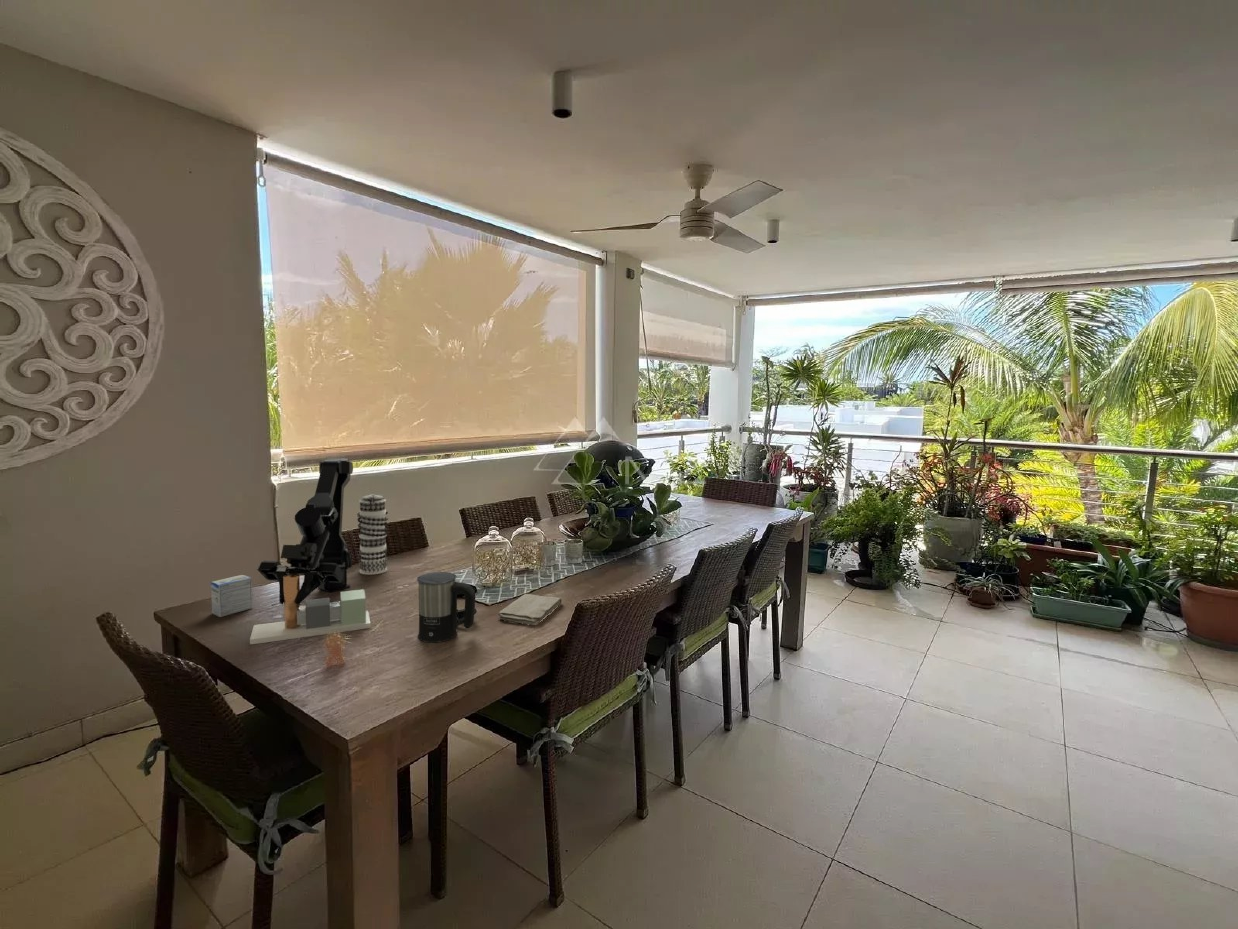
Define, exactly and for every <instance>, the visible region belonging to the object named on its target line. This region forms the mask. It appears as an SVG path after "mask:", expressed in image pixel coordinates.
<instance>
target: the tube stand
mask: <svg viewBox="0 0 1238 929" xmlns="http://www.w3.org/2000/svg"><path fill="white" fill-rule="evenodd" d="M330 598H331V597H324V598H322V597H321V598H314V599H306V600H305V606H306V624H301V625H300V626H298V627H294V628H286V627H285V620H283V621H277V622H268V623H260V624H254V625H253V628H252V630H251V631H252V632H251V635H250V637H249V645H256V644H263V643H265V644H266V643H269V642H278V641H285V640H292V639H299V638H307V637H308V638H309V637H315V636H321V635H327V634H329V635H331V634H330V633H332V632H334V633H335V632H336V631H337V632H339V633H340V632H341V633H343V632H344V633H345V632H350V631H356V630H357V631H358V630H365V629H371V626H372V625H371V624H372V623H371V619H370V613H369V610H366V622H365V623H357V624H350V625H342V624H341V619H338V620H330V603H331V601H330V600H331V599H330ZM337 632H336V633H335V634H337ZM326 633H327V634H326ZM332 634H333V633H332Z"/></svg>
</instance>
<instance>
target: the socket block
mask: <svg viewBox="0 0 1238 929" xmlns="http://www.w3.org/2000/svg"><path fill="white" fill-rule="evenodd" d="M339 594H340V601H341V624H342V625H350V624H357V623H365V622H366V611H367V610H366V609H367V608H366V607H367V606H366V602H367V601H366V599H367V598H366V592H365V589H363V588H362V589H355V590H345V591H340V593H339Z"/></svg>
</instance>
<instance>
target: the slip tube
mask: <svg viewBox="0 0 1238 929" xmlns="http://www.w3.org/2000/svg"><path fill="white" fill-rule="evenodd" d="M300 582H301V581H300V575H299V574H287V575H284V576H283V588H284V603H283V609H284V612H283V613H284V614H283V615H284V616H283V617H284V621H285V627H286V628H294V627H298V626H300V625H301V624H306V605H301V603H300V604H299V605H297V604H296V599H297V596H298V593H299V591H300V589H301V587H300V586H301V585H300ZM338 619H341V600H340V601H334V602H332V601H330V620H338Z"/></svg>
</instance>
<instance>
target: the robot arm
mask: <svg viewBox="0 0 1238 929" xmlns="http://www.w3.org/2000/svg"><path fill="white" fill-rule="evenodd" d="M318 465H319V469H318V471H319V472H318V474H319V477H318V481H317V484H316V487H315V492H314V495H313V496H312V497H310V498H309V499H308V500H307V502H306V504H305V507H303V508H301V509H299V510H298V511H297V512H296V513H295V515H294V522H295V524H296V526H297V529H298V531H299V534H300V535H301V536H302V538H301V540H300V542H299V543H296V544H283V545H282V549H281V553H280V559H286V561H285V562H286V563H287V564H288V565H284V564H282V563H281V562H280V561H278V560H263V561H261V562H260V563H259V565H258V567H257V569H256V570H257V571H258V572H259V573H260V574H261V575H262V576H263V578H265V579H266V580H267V581H277V582H278V585H279V596H278V598H279V604H280V605H284V588H283V576H284V575H287V574H299V576H303V581H302V584H301V585H300V586H301V587H300V591H299V593H298V596H297V599H296V604H297V605H299V604H300V605H301V603H302V602H303V601H304V600H305V599H306V598H307V597H308V596H310V594H311V593H313V592H314V591H315V590H317V589H319V590H323V591H325V592H328V593H333V592H336V591H340V590H344V589H348V588H351V584H348V581H347V580H348V574H347V572H348V570H349V569H350V568H352V564H353V563H352V558H351V553H350V551H349V549H348V546H347V542H346V541H345V539H344V538H343V536H342V533H343V532H342V530H343V529H342V528H343V514H344V513H343V512H344V494H345V488H346V486H347V485H348V484H349V483H350V481H351V476H352V474H353V472H354V463H353V462H352V461H350V460H349V459H348V458H325V460H322V461H319V464H318ZM289 565H290V566H289Z"/></svg>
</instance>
